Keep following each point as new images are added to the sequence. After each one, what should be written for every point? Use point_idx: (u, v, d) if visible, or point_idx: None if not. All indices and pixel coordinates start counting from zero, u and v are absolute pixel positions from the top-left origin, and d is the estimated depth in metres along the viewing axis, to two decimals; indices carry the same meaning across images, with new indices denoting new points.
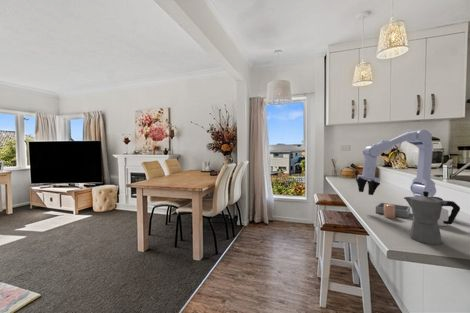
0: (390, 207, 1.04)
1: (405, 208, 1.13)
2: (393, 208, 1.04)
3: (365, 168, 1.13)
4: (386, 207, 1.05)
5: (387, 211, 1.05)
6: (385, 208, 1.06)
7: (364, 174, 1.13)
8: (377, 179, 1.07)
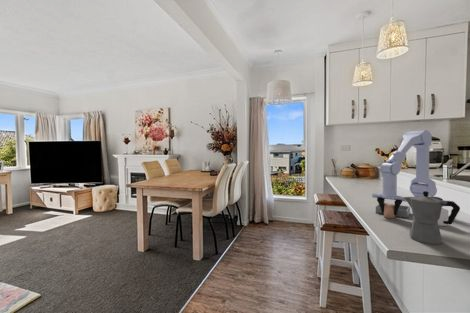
0: (390, 207, 1.04)
1: (405, 208, 1.13)
2: (393, 208, 1.04)
3: (390, 188, 1.04)
4: (386, 207, 1.05)
5: (387, 211, 1.05)
6: (385, 208, 1.06)
7: (390, 194, 1.04)
8: None
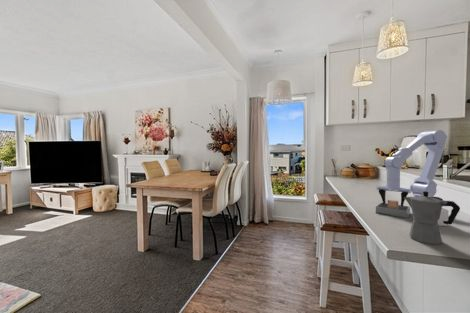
0: (394, 203, 1.11)
1: (405, 208, 1.13)
2: (396, 204, 1.11)
3: (394, 180, 1.10)
4: (390, 202, 1.12)
5: (391, 206, 1.12)
6: (389, 204, 1.12)
7: (393, 186, 1.10)
8: (410, 190, 1.07)
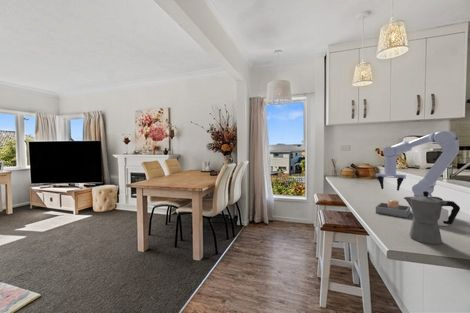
0: (394, 203, 1.11)
1: (405, 208, 1.13)
2: (397, 204, 1.10)
3: (391, 167, 1.24)
4: (391, 202, 1.11)
5: (391, 206, 1.11)
6: (389, 204, 1.12)
7: (390, 173, 1.25)
8: (405, 176, 1.22)
